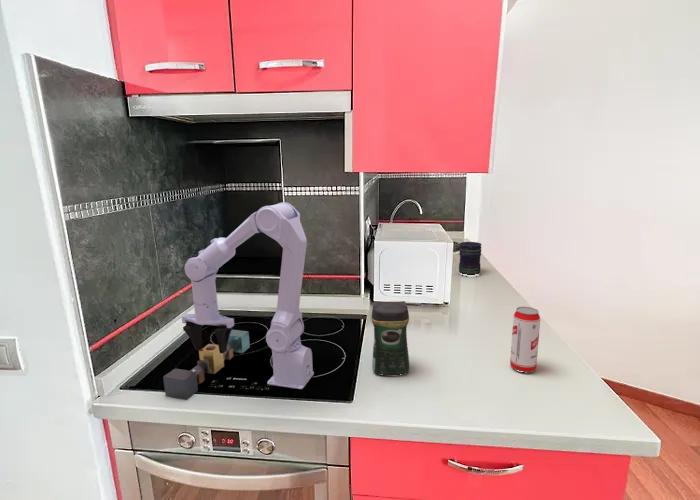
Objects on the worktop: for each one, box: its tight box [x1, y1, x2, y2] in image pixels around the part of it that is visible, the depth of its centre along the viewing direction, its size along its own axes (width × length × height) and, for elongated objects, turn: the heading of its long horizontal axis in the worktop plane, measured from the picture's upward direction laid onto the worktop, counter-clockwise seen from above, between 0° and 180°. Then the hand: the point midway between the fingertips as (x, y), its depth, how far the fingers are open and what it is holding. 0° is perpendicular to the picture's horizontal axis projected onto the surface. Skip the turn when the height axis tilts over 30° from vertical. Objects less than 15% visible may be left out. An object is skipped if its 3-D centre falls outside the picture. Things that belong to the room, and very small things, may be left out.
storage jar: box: [458, 241, 482, 275], centre depth 188 cm, size 10×10×15 cm
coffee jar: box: [370, 300, 410, 376], centre depth 102 cm, size 10×8×19 cm
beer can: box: [509, 306, 541, 373], centre depth 102 cm, size 6×6×16 cm
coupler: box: [198, 343, 225, 375], centre depth 106 cm, size 4×4×6 cm
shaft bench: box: [162, 329, 251, 401], centre depth 106 cm, size 6×28×5 cm, turn 163°
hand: (210, 350), depth 106 cm, fingers open, 7 cm apart
